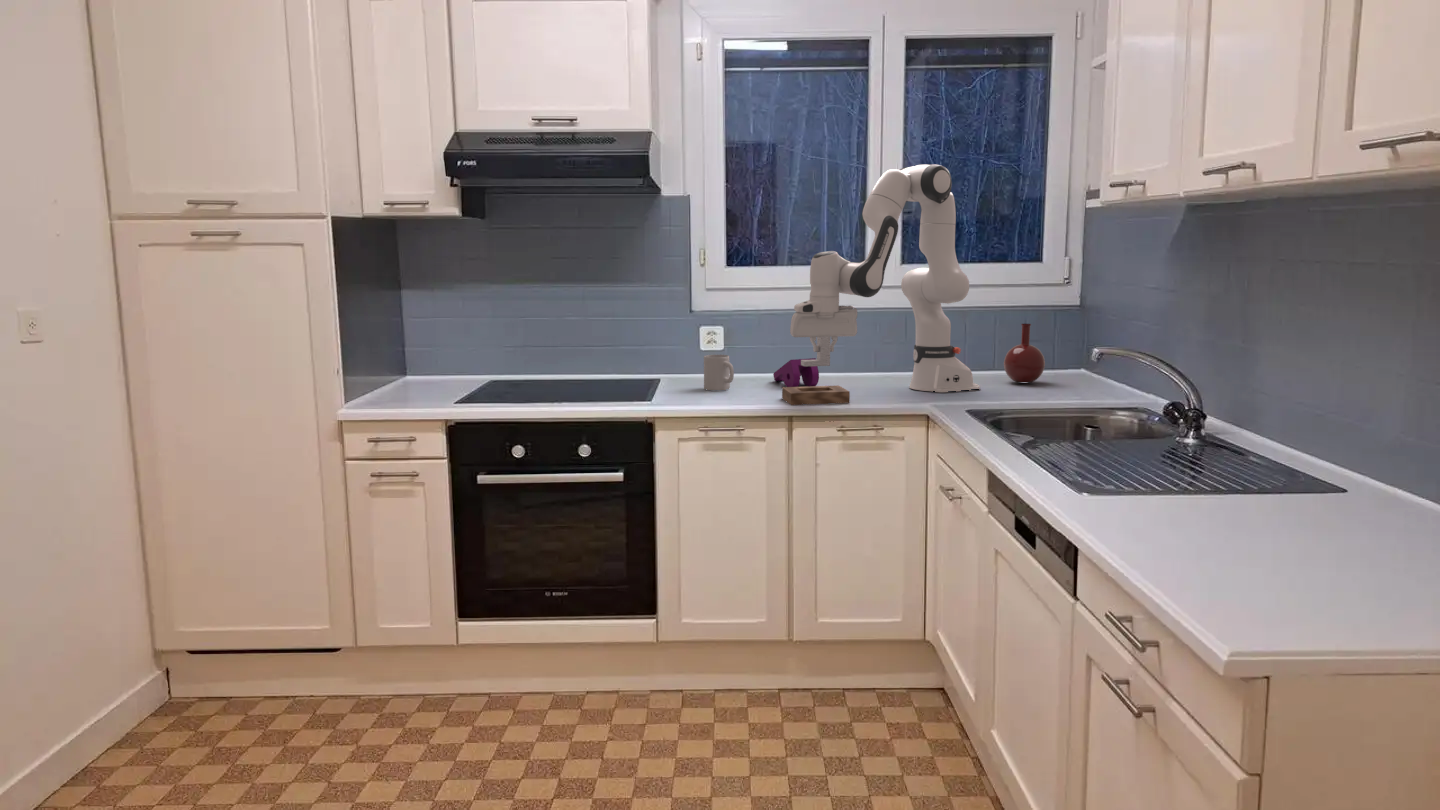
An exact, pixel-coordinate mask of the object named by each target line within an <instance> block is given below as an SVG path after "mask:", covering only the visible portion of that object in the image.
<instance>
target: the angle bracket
mask: <svg viewBox="0 0 1440 810" xmlns="http://www.w3.org/2000/svg"><path fill="white" fill-rule="evenodd" d="M816 345H817V346H820V348H819V350H820V351H819V352H816V360H801V365H802V366H818V367H830V366H831V352H830V345H831V337H830V336H820V337H816Z"/></svg>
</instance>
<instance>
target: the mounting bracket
mask: <svg viewBox="0 0 1440 810" xmlns="http://www.w3.org/2000/svg"><path fill="white" fill-rule="evenodd" d="M801 360H817V357H814V358H813V357H812V358H797V359H789V360H788V361H787V362H786V363H785V364H783V365H782V366H781V367H779V368H778V369H777V370H776V371H775V372H773V379H774V382H777V381H779V382H783V383H784V386H785V387H786V386H787V387H799V385H800V383H801V382H800V381H801V380H802V383H803V385H804V386H805V385H806V386H805V387H807V386H818V383H819V379H820V372H819V368H818V367H819V366H802V365H801Z"/></svg>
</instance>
